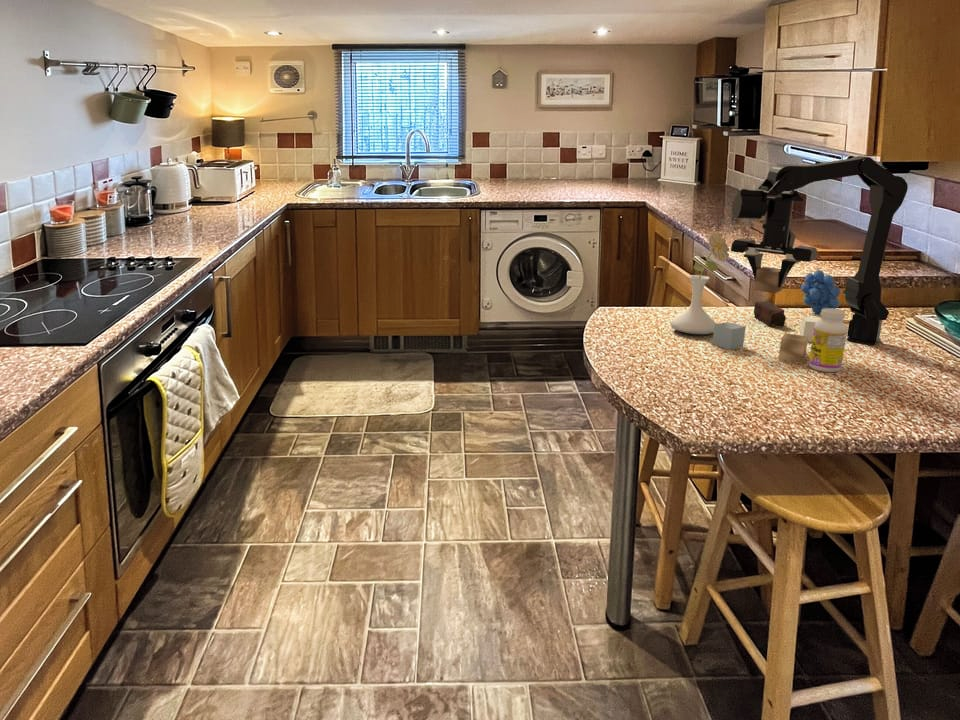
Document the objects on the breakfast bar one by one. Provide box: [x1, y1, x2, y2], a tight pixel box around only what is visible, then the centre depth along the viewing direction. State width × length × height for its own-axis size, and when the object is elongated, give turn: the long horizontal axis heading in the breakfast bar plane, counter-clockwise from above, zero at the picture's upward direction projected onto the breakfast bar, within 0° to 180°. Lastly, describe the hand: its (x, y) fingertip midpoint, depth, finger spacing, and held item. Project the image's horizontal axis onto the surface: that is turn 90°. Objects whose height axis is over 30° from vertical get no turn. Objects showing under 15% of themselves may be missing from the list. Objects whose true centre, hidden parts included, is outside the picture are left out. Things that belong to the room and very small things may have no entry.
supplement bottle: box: [808, 308, 848, 373], centre depth 188 cm, size 7×7×13 cm
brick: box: [753, 300, 787, 328], centre depth 229 cm, size 11×4×5 cm, turn 8°
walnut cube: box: [753, 266, 784, 294], centre depth 209 cm, size 5×5×5 cm
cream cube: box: [799, 316, 822, 343], centre depth 213 cm, size 5×5×5 cm
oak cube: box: [778, 332, 809, 364], centre depth 196 cm, size 5×5×5 cm
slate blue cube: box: [711, 321, 747, 351], centre depth 205 cm, size 5×5×5 cm
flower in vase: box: [669, 229, 730, 335], centre depth 213 cm, size 13×11×25 cm
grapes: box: [800, 269, 841, 315], centre depth 239 cm, size 12×7×12 cm, turn 38°
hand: (768, 285), depth 209 cm, fingers closed on walnut cube, 5 cm apart
